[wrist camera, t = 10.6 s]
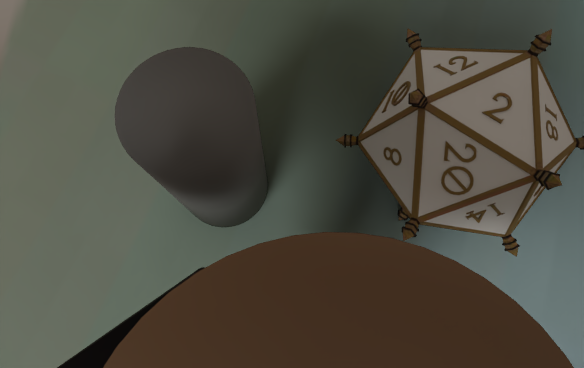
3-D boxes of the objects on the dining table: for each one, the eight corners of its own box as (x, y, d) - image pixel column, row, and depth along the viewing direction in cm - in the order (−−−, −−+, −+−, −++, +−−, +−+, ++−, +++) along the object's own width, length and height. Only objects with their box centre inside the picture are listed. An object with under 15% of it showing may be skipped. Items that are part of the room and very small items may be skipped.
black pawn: (227, 244, 21) (187, 208, 12) (165, 189, 22) (85, 116, 13) (285, 181, 22) (285, 104, 13) (223, 129, 22) (183, 22, 14)
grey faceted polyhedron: (440, 209, 25) (597, 320, 16) (297, 185, 23) (392, 303, 14) (502, 46, 23) (727, 70, 14) (351, -5, 20) (510, -15, 11)
